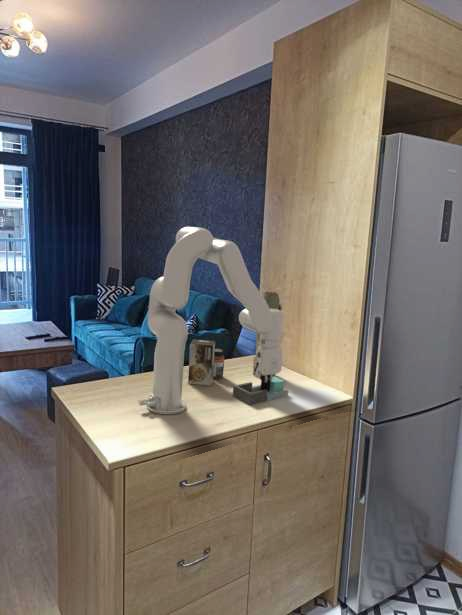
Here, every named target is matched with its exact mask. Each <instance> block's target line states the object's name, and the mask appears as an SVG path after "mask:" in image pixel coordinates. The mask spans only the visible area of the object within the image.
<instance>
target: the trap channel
mask: <svg viewBox="0 0 462 615" xmlns="http://www.w3.org/2000/svg"><path fill="white" fill-rule="evenodd" d="M232 388H233V389H232V397H233V398H235V399H237V400H239V401H241V402H242V403H245V404H247V405H248V406H253V405H256V403H257V404H260V402H261V403H265V402H268V401H272V400H275V399H279V398H283V397H287V396H289V389H286V388H285V389H284V390H281V391H277V392H273V393H268V390H266V389H264V390H261V384H258V385H253V382H251V381H249V382H246V383H240V384H237V385H233V386H232Z"/></svg>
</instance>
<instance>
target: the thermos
mask: <svg viewBox="0 0 462 615" xmlns="http://www.w3.org/2000/svg"><path fill="white" fill-rule="evenodd" d="M262 296H263V297H264V299H265V301H266V302H267V305H268V307H269V309H278V310H280V311H282V305H281V303H280V296H279V293H278V292H275V291H265V292H263V294H262ZM256 335H257V336H256V346H255V353H256V352H257V349H258V346H259V344H258V342H259V340H260V334H258V333H256ZM255 357H256V354H255V356H254V357H253V362H252V363H253V365H252V368H253V372H252V376H254V377H255V373H256V372H255V371H254V364H255Z"/></svg>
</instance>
